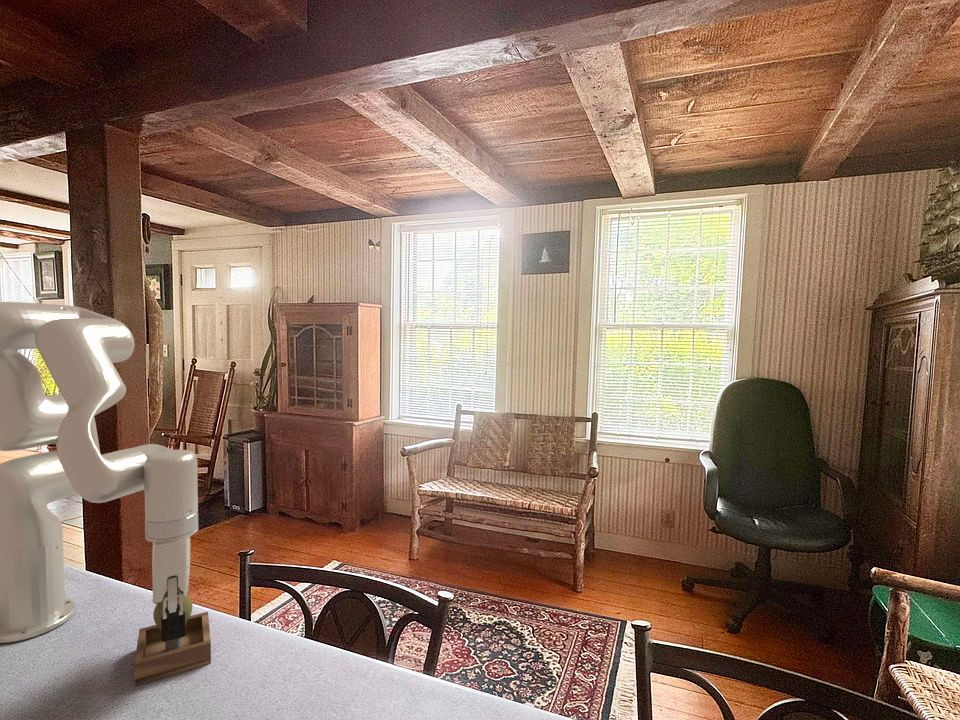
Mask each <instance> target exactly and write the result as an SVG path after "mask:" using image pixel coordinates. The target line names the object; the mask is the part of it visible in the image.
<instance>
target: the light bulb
mask: <svg viewBox="0 0 960 720" xmlns="http://www.w3.org/2000/svg"><path fill="white" fill-rule="evenodd" d="M177 594H180V592H177ZM166 597H168V594H167V595H166ZM178 603H179V600H177V604H178ZM167 606H168V602H167ZM154 607H155V608H154V609H153V620H154V624H155V625H157V626H158V627H159V629H160V630H161V632H162V628H161V617H163V599H162V601H161V602H158V603H157V604H156V605H155V606H154ZM184 611H185V625H186V623H187V621H188V619H189V617H190V616H192V611H193V601H192V599H191V596H189V595H188V594H187V595H186V596H185V597H183V612H184ZM181 645H182V637H181V638H178V639H174V640H170V641H167V642H165V649H166V650H170V651H172V650H175V649H178V648H179V647H180V646H181Z"/></svg>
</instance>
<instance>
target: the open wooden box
mask: <svg viewBox="0 0 960 720" xmlns="http://www.w3.org/2000/svg"><path fill="white" fill-rule="evenodd" d="M209 618H210V617H209V611H204V612H201V613H200V612H199V613H198V614H197V613H196V614H193V615H192V614H191V615H190V617H189V619H188V621H187V623H186V625H185V636H184V637H182V645H181V646H180V647H179V648H178V649H175V650H172V651H170V650H166V649H165V642H162V632H161V630H160V629H159V627H158V626H157V625H156V624H153V625H150V626H145V627H142V628H138V629H139V630H138V636H137V637H138V638H137V644H136V650H135V657H134V662H133V663H134V664H133V665H134V668H133V669H134V687H137V686H140V685H143V684H146V683H149V682H153V681H157V680H160V679H164V678H166V677H170V676H172V675H176V674H179V673H183V672H185V671H189V670H193V669H197V668H200V667H202V666H206V665H208V664H212V649H211V648H212V647H211V646H212V642H211V629H210V619H209Z"/></svg>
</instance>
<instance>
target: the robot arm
mask: <svg viewBox="0 0 960 720" xmlns="http://www.w3.org/2000/svg"><path fill="white" fill-rule="evenodd" d="M29 349H31V350H38V352H39V354H40V356H41V358H42V360H43V362H44V364H45V366H46V368H47V369H48V372H49V373H50V375H51V377H52V379H53V381H54V383H55V384H56V387H57V389H58V390H59V392H60V393H58V394H49V395H46V394H45V392H44V388H43V383H42V376H41V373H40V371H39V370H38V368H37V367H36V365H35V364H33V362H31V361H30V360H29V358H27V356H25V355H23V354H22V353H21V352H19V350H29ZM134 351H135V338H134V335H133V334H132V332H131V331H130V329H129V327H127V326H126V325H125V324H124V323H123V322H121V321H119V320H117V319H116V318H113V317H110V316H107V315H104V314H101V313H98V312H95V311H93V310H90V309H87V308H83V307H80V306H75V305H67V304H54V303H53V304H51V303H34V302H33V303H32V302H20V301H19V302H18V301H0V451H1V452H13V451H23V450H26V449H27V450H28V449H31V448H37V447H42V446H48V445H52V444H54V445H55V446H56V449H55V450H51V451H46V452H40V453H34V454H31V455H26V456H21V457H16V458H12V459H10V460H6V461H4V462H1V463H0V644H5V643H6V644H9V643H14V642H19V641H25V640H27V639H31V638H35V637H37V636H40V635H43V634H45V633H48V632H50V631H52V630H54V629H56V628H58V627H60V626H62V625H63V624H64V623H66V622H67V621H68V620H70V619H71V618H72V617H73V615H74V614H75V613H76V603H75V601H74V600H71V599H70V598H69V599H68V598H66V597H65V567H64V565H65V564H64V534H63V533H64V532H63V524H62V521H61V520H60V518H59V517H58V515H56V514H54V512H52V511H51V510H50V509H49V508H48V505H49V504H51V503H54V502H56V501H59V500H63V499H67V498H69V497H72V496H75V495H78V496H79V497H80V498H82V499H83V500H85V501H88V502H89V503H94V504H95V503H96V504H102V503H107V502H110V501H113V500H117V499H121V498H122V497H125V496H128V495H131V494H134V493H137V492H142V491H144V517H145V519H144V525H145V527H144V528H145V529H144V533H145V535H144V536H145V540H146V541H147V542H150V543H152V558H151V559H152V561H151V563H152V565H151V567H152V572H151V573H152V603H153V604H156V605H157V603H158V602H161V601H162V599H163V617H161V628H162V642H167V641H170V640H174V639H178V638H181V637H184V636H185V611H184V612H183V597H185V596H186V595H188V594H189V593H188V591H189V582H190V571H191V570H190V568H191V536H193V535H194V534H196V533H197V532H198V531H199V494H198V493H199V488H198V486H199V485H198V483H199V482H198V480H199V479H198V458H197V454H195V453H194V452H193V451H191V450H188V449H172V448H170V447H166V446H165V445H161V444H156V443H148V444H141V445H138V446H135V447H129V448H124V449H120V450H116V451H112V452H106V453H103V454H102V453H101V449H100V443H99V436H98V430H97V423H96V418H95V416H96V415H98V414H100V413H101V412H104V411H106V410H108V409H109V408H111V407H113V406H114V405H116V404H117V403H119V402H120V401H121V400H122V399H124V397H125V395H126V392H127V386H126V384H125V382H123V379H122V378H121V376H120V374H119V372H118V370H117V368H116V367H115V365H114V364H115V363H122V362H125V361H127V360H128V359H129V358H131V356H132V355H133V353H134ZM177 592H180V594H177ZM167 594H168V597H166V595H167ZM177 600H179V603H178V604H177ZM167 602H168V606H167Z"/></svg>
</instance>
